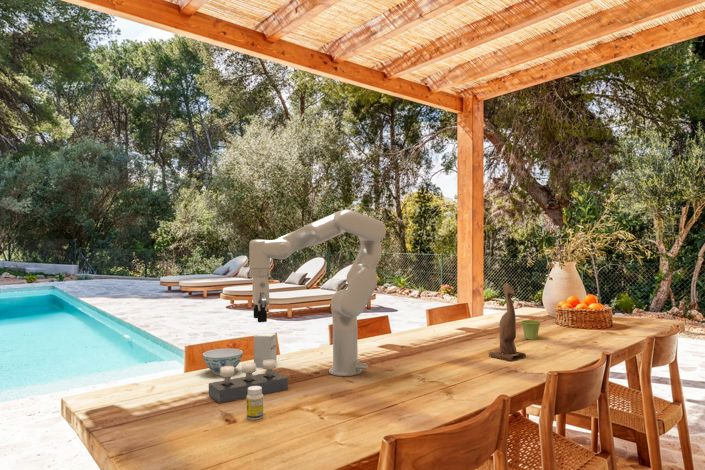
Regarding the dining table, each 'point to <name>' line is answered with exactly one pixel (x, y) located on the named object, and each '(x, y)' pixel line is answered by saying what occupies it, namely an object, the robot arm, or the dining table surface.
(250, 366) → the knob middle
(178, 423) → the dining table surface
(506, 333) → the bird sculpture
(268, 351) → the supplement box
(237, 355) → the chinaware
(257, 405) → the supplement bottle
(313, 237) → the robot arm
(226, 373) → the knob
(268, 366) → the knob
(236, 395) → the knob plate
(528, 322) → the plant pot
